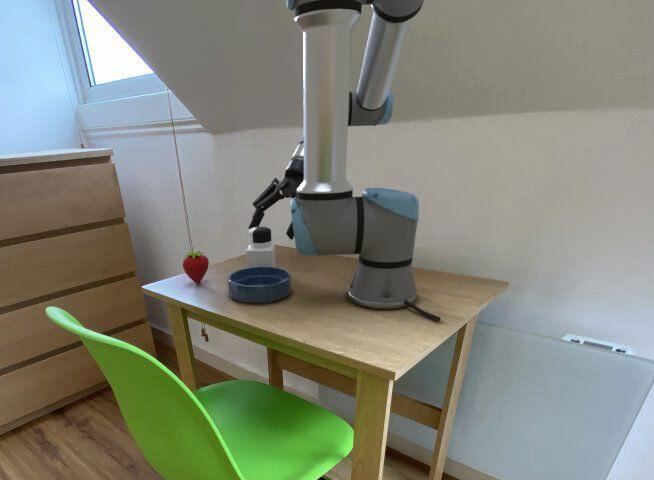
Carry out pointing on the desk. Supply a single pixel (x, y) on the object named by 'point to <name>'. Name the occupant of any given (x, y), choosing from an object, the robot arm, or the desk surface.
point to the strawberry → (195, 266)
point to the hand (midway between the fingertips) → (269, 233)
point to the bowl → (259, 284)
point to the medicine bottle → (260, 248)
